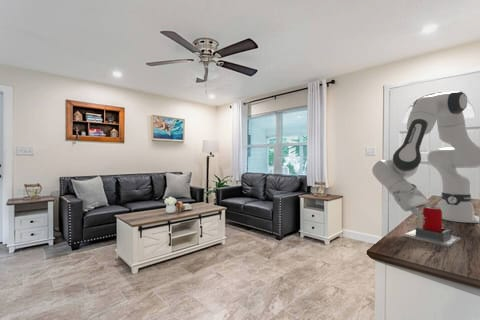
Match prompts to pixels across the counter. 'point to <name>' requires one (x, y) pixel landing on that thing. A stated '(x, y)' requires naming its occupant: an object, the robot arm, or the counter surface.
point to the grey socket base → (434, 236)
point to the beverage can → (432, 218)
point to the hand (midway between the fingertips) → (427, 216)
